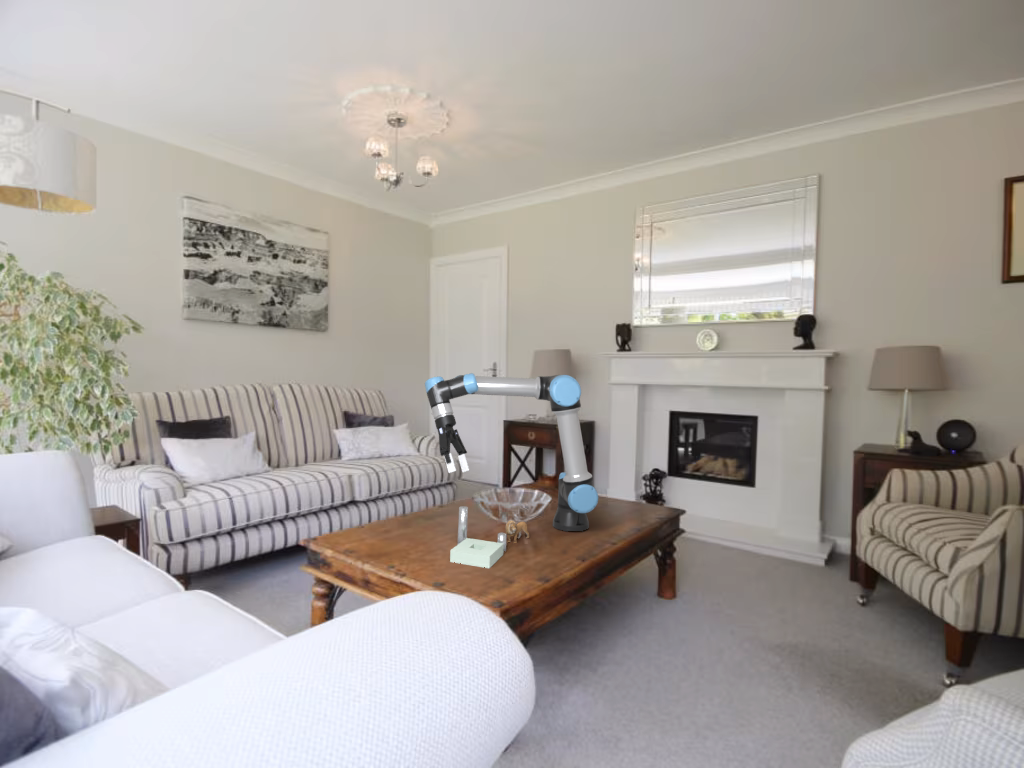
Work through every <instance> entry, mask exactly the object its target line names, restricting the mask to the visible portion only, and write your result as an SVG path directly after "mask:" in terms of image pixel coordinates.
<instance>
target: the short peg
mask: <svg viewBox="0 0 1024 768" xmlns="http://www.w3.org/2000/svg"><path fill="white" fill-rule="evenodd" d="M507 539H508V535H507V533H506V532H497V543H504V548H503V553H505V552H506V551H507ZM504 551H505V552H504Z"/></svg>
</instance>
